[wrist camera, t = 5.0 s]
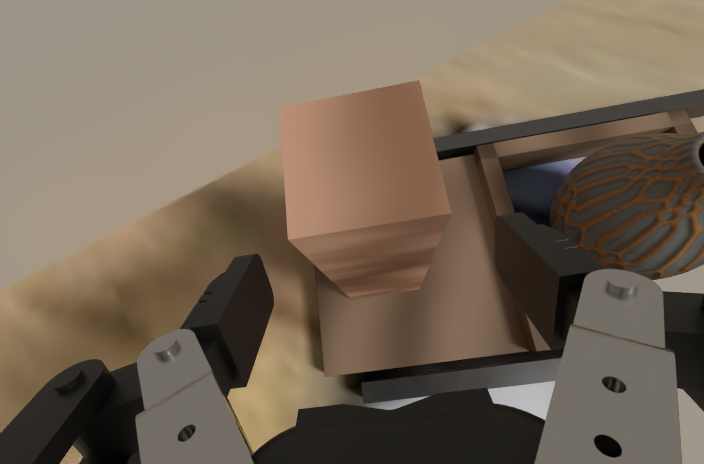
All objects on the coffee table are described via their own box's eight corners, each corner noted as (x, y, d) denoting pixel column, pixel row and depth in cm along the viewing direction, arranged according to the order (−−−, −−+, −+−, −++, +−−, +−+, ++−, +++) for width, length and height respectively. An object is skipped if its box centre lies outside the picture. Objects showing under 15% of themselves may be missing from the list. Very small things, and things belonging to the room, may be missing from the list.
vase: (511, 206, 21) (583, 120, 13) (610, 165, 21) (745, 53, 13) (574, 309, 19) (711, 283, 11) (686, 262, 19) (909, 200, 11)
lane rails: (366, 399, 19) (363, 403, 17) (336, 167, 24) (333, 156, 22) (832, 342, 17) (872, 342, 15) (695, 103, 22) (716, 87, 20)
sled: (328, 375, 19) (208, 432, 7) (310, 190, 23) (214, 20, 11) (757, 320, 17) (1609, 269, 5) (659, 129, 21) (1010, -157, 9)
